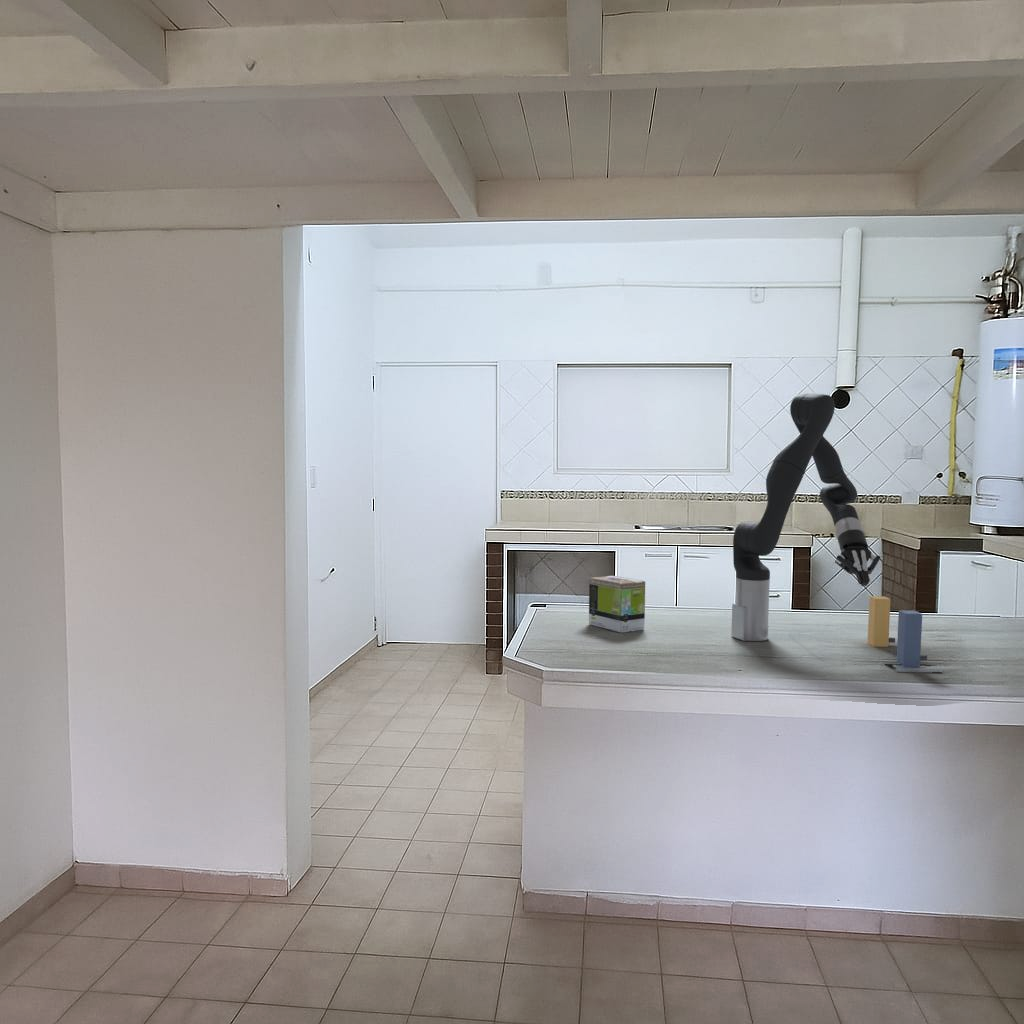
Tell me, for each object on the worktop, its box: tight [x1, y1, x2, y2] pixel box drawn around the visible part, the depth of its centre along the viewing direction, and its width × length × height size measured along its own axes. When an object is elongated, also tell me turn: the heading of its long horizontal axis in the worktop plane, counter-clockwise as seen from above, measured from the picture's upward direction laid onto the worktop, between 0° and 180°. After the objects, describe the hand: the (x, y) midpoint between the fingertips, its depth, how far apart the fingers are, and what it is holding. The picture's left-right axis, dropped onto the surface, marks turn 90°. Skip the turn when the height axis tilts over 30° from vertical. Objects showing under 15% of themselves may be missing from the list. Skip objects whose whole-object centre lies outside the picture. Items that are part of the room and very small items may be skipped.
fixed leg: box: [896, 610, 928, 666], centre depth 207 cm, size 4×6×13 cm, turn 88°
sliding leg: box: [867, 595, 896, 648], centre depth 226 cm, size 4×6×13 cm, turn 88°
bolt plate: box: [884, 663, 943, 673], centre depth 217 cm, size 26×11×1 cm, turn 178°
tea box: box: [588, 575, 646, 633], centre depth 252 cm, size 15×10×15 cm
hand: (865, 584), depth 237 cm, fingers closed
